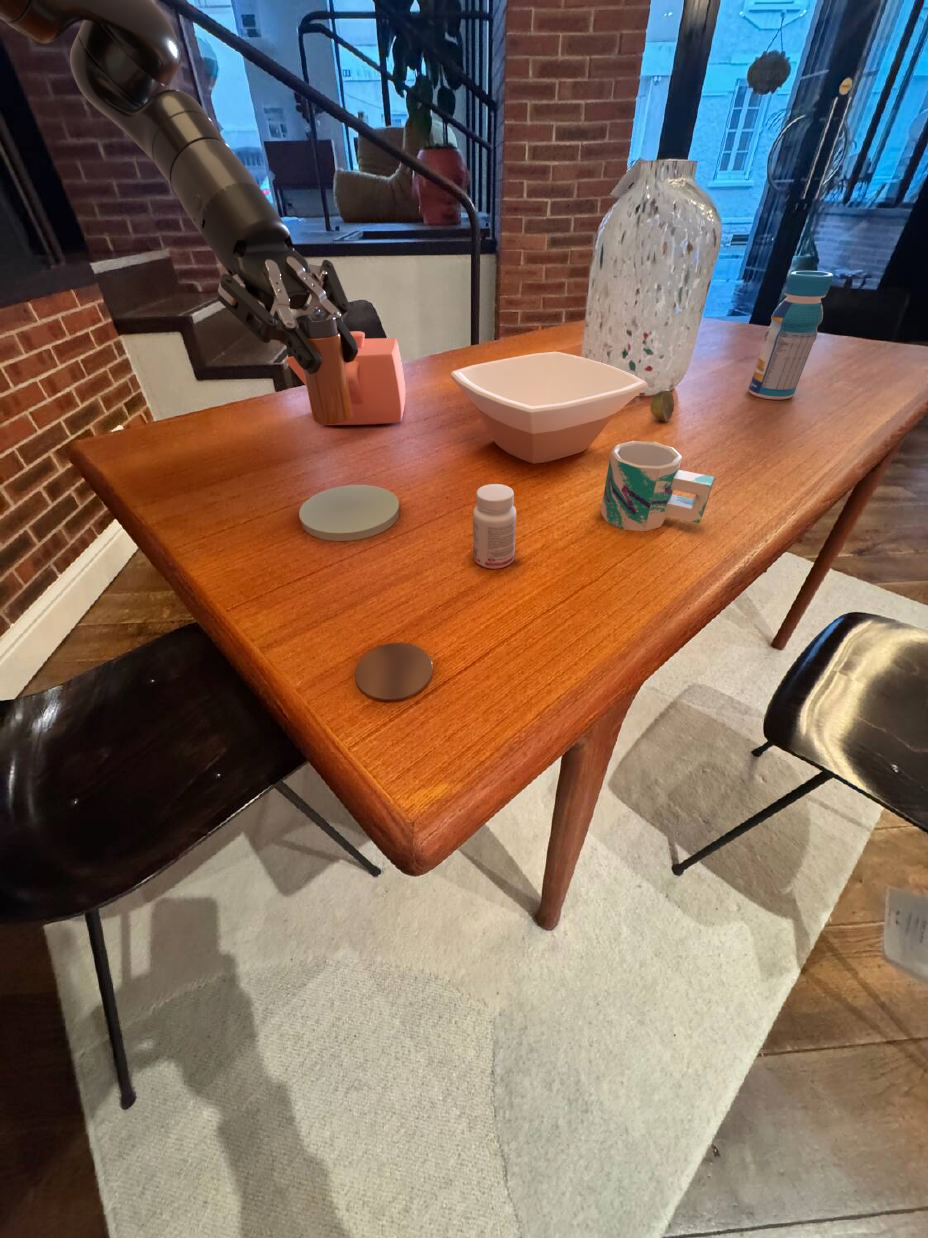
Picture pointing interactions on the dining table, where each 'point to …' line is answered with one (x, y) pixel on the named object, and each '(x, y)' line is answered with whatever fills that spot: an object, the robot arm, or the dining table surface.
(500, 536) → the pill bottle
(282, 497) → the dining table surface
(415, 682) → the coaster
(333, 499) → the plate
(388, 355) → the teapot
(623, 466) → the mug
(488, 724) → the dining table surface
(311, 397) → the spice bottle
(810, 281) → the beverage bottle
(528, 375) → the bowl
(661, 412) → the lime
